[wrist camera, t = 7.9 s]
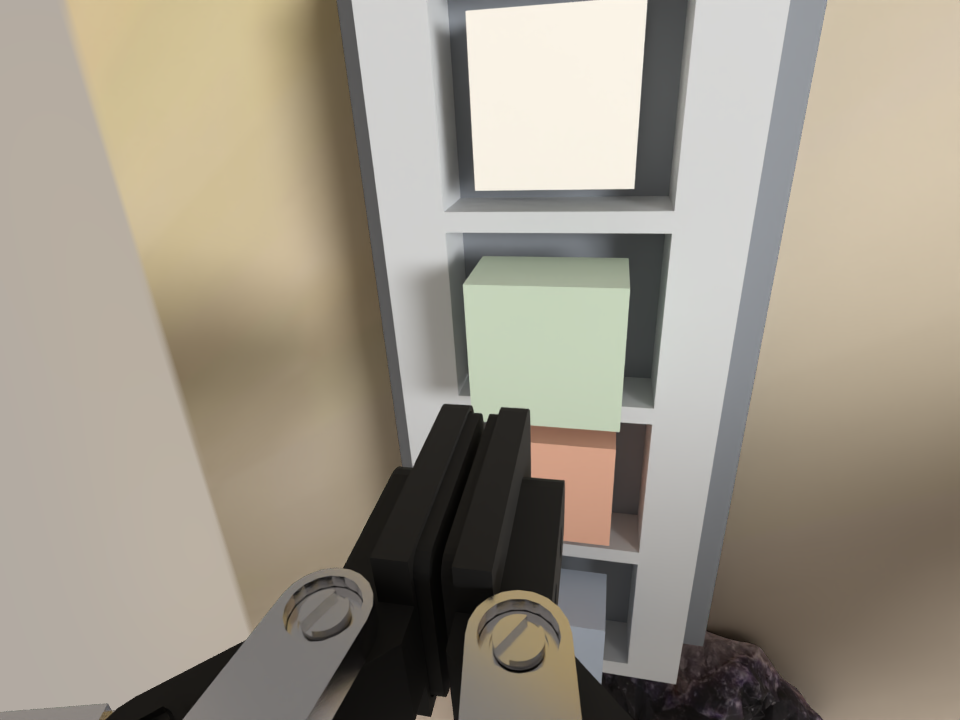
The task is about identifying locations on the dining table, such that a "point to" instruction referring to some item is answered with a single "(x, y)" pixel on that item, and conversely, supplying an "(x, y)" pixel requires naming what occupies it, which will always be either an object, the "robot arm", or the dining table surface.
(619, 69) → the key ivory
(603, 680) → the crystal cluster
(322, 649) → the robot arm
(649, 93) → the keypad board
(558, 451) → the key terracotta
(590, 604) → the key slate
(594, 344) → the key sage
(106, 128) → the dining table surface
